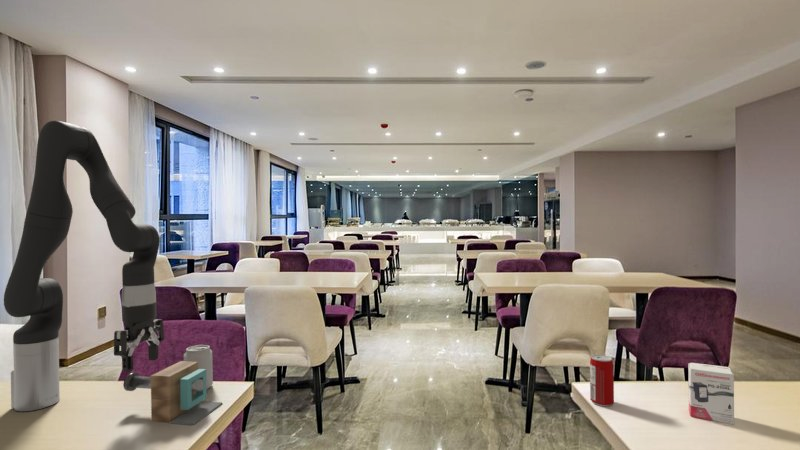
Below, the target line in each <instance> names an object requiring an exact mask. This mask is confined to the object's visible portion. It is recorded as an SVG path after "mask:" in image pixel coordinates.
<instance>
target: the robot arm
mask: <svg viewBox="0 0 800 450" xmlns="http://www.w3.org/2000/svg"><path fill="white" fill-rule="evenodd" d="M35 158H36V159H35V168H34V176H33V182H32V187H31V193H30V197H29V202H28V205H27V209H26V214H25V218H24V221H23V227H22V229H23V230H22V234H21V239H20V243H19V246H18V250H17V254H16V258H15V262H14V264H13V267H12V270H11V272H10V275H9V277H8V280H7V284H6V286H5V290H4V293H3V306H4V309H5V311H6V313H7V314H8V315H9V316H11V317H13V318H25V317H29V318H28V320H27V322H25V324H24V325H22V326H21V327H20V328H18V329H16V330H15V331H14V333H13V337H12V341H13V342H12V343H13V345H12V346H13V350H12V352H13V370H12V371H11V372H10V403H11V404H10V405H11V406H10V407H11V409H14V410H15V411H16V412H32V411H37V410H41V409H44V408H48V407H51V406H53V405H54V404H57V403H58V402H60V350H59V349H60V347H59V346H60V344H59V335H60V334H59V333H60V329H61V327H62V323H63V311H64V310H63V309H64V308H63V307H64V293H63V288H62V286H61V285H60V283H59V282H58V281H57V280H56V279H54V278H51V277H42V278H41V274H42V273H43V268H44V267H45V266H46V263H47V262H48V260H49V259H50V258H51V256H52V255H53V254H54V253H55V252H56V251H57V250H58V249H59V247H60V246H61V245H62V244H63V242H64V241H65V240H66V239H67V236H68V234H69V231H70V226H71V222H72V218H73V213H74V212H73V210H74V209H73V206H72V202H71V199H70V196H69V194H68V190H67V189H66V186H65V182H64V174H65V173H64V172H65V169H66V167H65V166H66V162H67V160H70V161H71V160H72V161H76V163H78V164H79V165H80V166H81V167H82V168H83V170H84V171H85V173H86V174H87V176H88V180H89V193H90V196H91V197H90V198H91V199H92V202H93V203H94V205H95V206H96V207H97V209H98V211H99V212H100V213H101V215H102V217H103V218H104V219H105V221H106V226H107V229H108V232H109V235H110V238H111V240H112V242H113V244H114V245H115V246H116V247H117V248H118V249H119V250H120V251H122V252H125V253H133V254H132V257H131V260H129V261H127V262H125V263H124V264H123V265H122V269H121V272H122V273H121V277H122V280H121V281H122V282H121V283H122V289H121V313H122V314H121V317H122V320H121V321H122V322H123V323H124V324H125V327H124V329H123V330H115V331H114V332H113V355H114V356H115V357H118V356H119V357H121V369H122V370H123V372H132V371H133V370H134V356H133V353H134V351H135V349H136V348H137V347H139V346H138V345H139V344H141V343H142V342H146V343H147V344H148V346H147V347H148V348H147V350H148V352H147V353H148V361H157V360H158V359H159V345H160V343H161V342H163V341H164V340H165V331H164V330H165V329H164V320H163V319H162V318H161V319H160V318H157V315H158V313H157V291H156V290H157V289H156V286H155V268H154V267H155V266H156V265H155V264H156V260H157V258H158V253H159V248H160V242H161V241H160V235H159V232H158V230H157V229H156V228H155V227H154V226H153V225H151V224H146V223H143V224H142V223H140V224H139V223H138V224H137V223H134V222H133V220H132V219H133V218H134V217H135V215H136V208H135V207H134V205H133V203H132V202H131V200H130V199H129V198H128V196H127V194H125V192H124V191H123V189H122V188H121V186H120V185H119V183H118V182H117V179H116V178H115V177H114V174H113V172H112V170H111V168H110V166H109V164H108V161H107V160H106V157H105V155H104V153H103V151H102V148H101V146H100V144H99V141H97V138H96V137H95V135H94V133H93V132H92V131H91V130H89V129H88V128H86V127H84V126H81V125H77V124H74V123H69V122H66V121H65V122H64V121H60V120H50V121H48V122H46V123H45V124H43V126H42V127H41V129H40V131H39V135H38V139H37V147H36V155H35Z"/></svg>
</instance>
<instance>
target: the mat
mask: <svg viewBox="0 0 800 450" xmlns="http://www.w3.org/2000/svg"><path fill="white" fill-rule="evenodd" d="M222 405H223V402H221V401H218V402H217V401H205V400H202V401H201V402H199V403H198V404H197V405H195V406H194V407H192V408H191V409H189V410H188V411H186V412H185V413H183V414H182V415H180V416H179V417H177V418H176V419H174V420H173V421H171V422H170V424H173V425H174V424H175V425H187V426H194V425H196V424H197V423H198V422H200V421H201V420H202V419H204V418H205V417H208V415H209V414H211V413H212V412H213V411H215V410H217V409H218V408H219V407H221V406H222Z"/></svg>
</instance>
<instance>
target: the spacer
mask: <svg viewBox="0 0 800 450" xmlns="http://www.w3.org/2000/svg"><path fill="white" fill-rule="evenodd" d="M198 379H200V380H204V388H203V390H202V391H200V392H199V391H196V394H195V395H194V396H192V384H191V383H193V382H194V381H196V380H198ZM207 395H208V394H207V390H206V369H198V370H196V371H194V372H192V373H191V374H189V375H187V376H185V377H183V378H181V379H180V398H181V410H189V409H190V408H192V407H193V406H195V405H196V404H198V403H200V402H201V401H205V399H207V397H208V396H207Z"/></svg>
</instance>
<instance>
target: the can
mask: <svg viewBox="0 0 800 450" xmlns="http://www.w3.org/2000/svg"><path fill="white" fill-rule="evenodd" d="M210 347H211V346H210V345H207V344H197V345H191V346H189V347H187V348H186V349H185V351H186V352H185V353H183V361H190V362H198V369H206V391H208V390H209V389H210V388H211V387H212V385H213V383H214V382H213V381H214V379H213V373H214V372H213V350H212V349H210Z"/></svg>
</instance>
